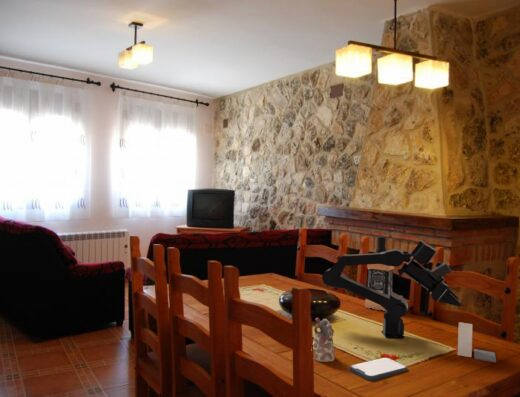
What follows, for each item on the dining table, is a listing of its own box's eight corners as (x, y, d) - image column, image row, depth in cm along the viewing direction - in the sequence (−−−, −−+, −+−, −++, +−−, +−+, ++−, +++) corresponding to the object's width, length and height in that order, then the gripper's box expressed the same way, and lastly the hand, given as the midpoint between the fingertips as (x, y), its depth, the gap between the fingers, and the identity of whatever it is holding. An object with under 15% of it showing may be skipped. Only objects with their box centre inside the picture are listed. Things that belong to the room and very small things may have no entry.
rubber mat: (474, 358, 134) (474, 357, 134) (474, 350, 141) (474, 349, 141) (496, 362, 131) (496, 361, 131) (494, 354, 138) (494, 352, 138)
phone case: (385, 361, 131) (347, 370, 123) (386, 356, 131) (347, 365, 123) (409, 372, 123) (370, 383, 115) (409, 367, 123) (370, 377, 115)
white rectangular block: (457, 354, 137) (458, 327, 136) (458, 349, 142) (458, 322, 142) (471, 357, 135) (472, 329, 135) (471, 351, 140) (472, 324, 140)
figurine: (329, 363, 126) (330, 323, 126) (307, 358, 130) (308, 319, 130) (338, 356, 132) (339, 318, 132) (317, 351, 136) (318, 314, 136)
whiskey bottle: (393, 307, 193) (396, 236, 193) (387, 311, 185) (389, 238, 184) (371, 303, 199) (373, 234, 198) (364, 307, 190) (366, 236, 190)
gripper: (435, 259, 140) (478, 289, 136) (432, 253, 158) (470, 279, 153) (414, 286, 142) (456, 316, 138) (413, 276, 160) (451, 303, 155)
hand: (459, 302), depth 146 cm, fingers open, 9 cm apart
